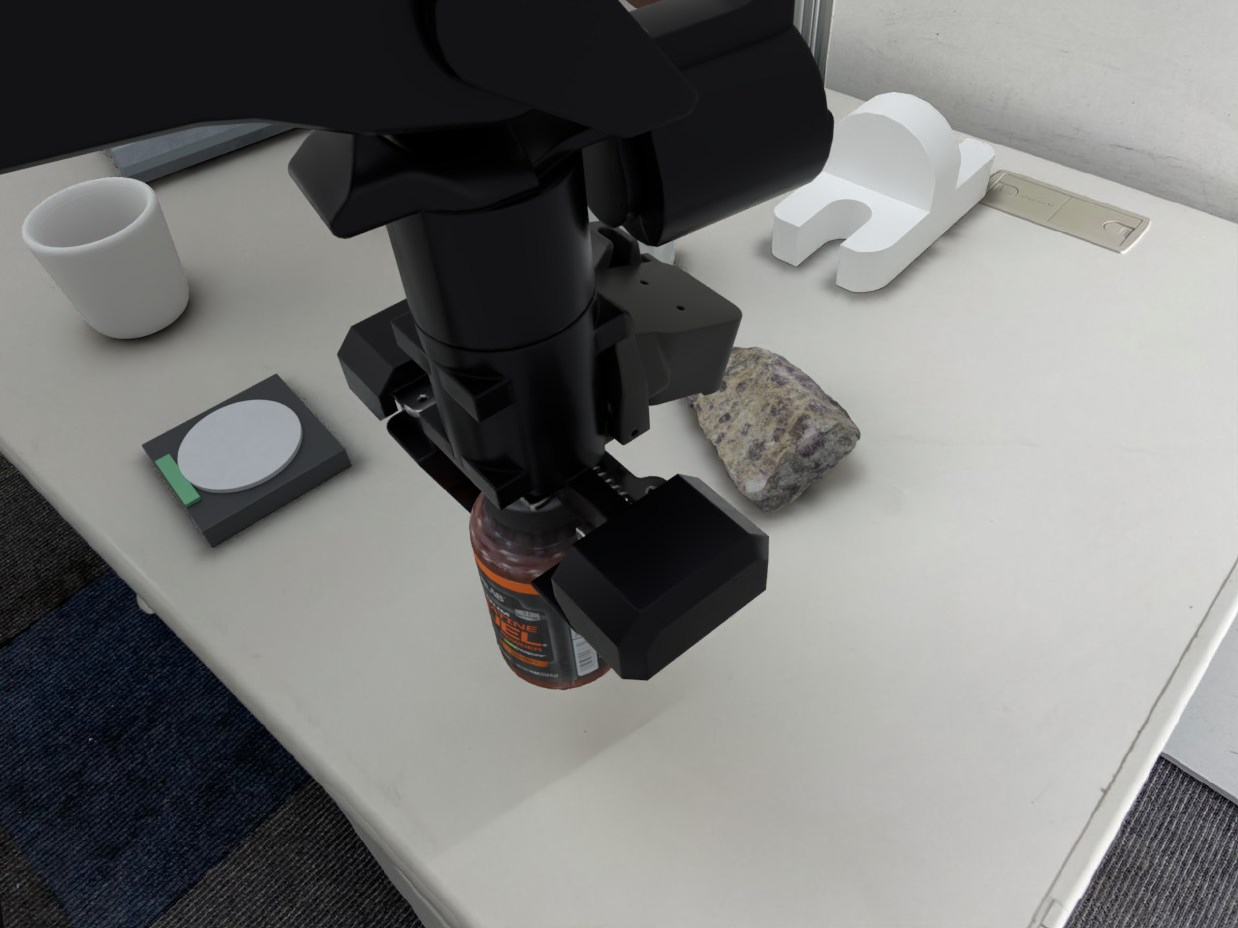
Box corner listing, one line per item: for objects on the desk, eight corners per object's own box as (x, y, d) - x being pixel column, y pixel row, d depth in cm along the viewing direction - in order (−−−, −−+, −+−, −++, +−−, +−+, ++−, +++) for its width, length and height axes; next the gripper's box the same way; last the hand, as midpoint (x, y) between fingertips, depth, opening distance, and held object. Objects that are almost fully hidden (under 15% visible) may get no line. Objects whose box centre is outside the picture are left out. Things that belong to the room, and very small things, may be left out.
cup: (64, 286, 80) (1, 186, 73) (176, 244, 83) (126, 143, 76) (98, 371, 73) (32, 268, 66) (220, 321, 75) (169, 217, 68)
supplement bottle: (471, 650, 44) (418, 481, 36) (557, 564, 47) (526, 390, 39) (573, 721, 41) (541, 555, 33) (657, 625, 44) (646, 451, 36)
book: (135, 196, 89) (110, 146, 85) (91, 125, 98) (67, 77, 94) (347, 117, 95) (332, 68, 92) (287, 58, 105) (271, 11, 101)
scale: (211, 548, 60) (199, 528, 59) (151, 460, 66) (138, 440, 64) (352, 465, 64) (343, 444, 63) (283, 389, 70) (274, 368, 68)
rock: (777, 537, 57) (892, 437, 60) (754, 470, 54) (878, 367, 56) (647, 451, 67) (752, 368, 70) (620, 389, 63) (732, 304, 66)
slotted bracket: (870, 299, 72) (887, 182, 64) (764, 252, 76) (769, 138, 69) (992, 188, 80) (1020, 73, 72) (890, 152, 85) (907, 40, 77)
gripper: (920, 316, 28) (855, 618, 39) (537, 92, 38) (576, 384, 50) (615, 521, 23) (644, 792, 35) (277, 206, 34) (386, 497, 45)
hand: (558, 584), depth 41 cm, fingers closed on supplement bottle, 6 cm apart
